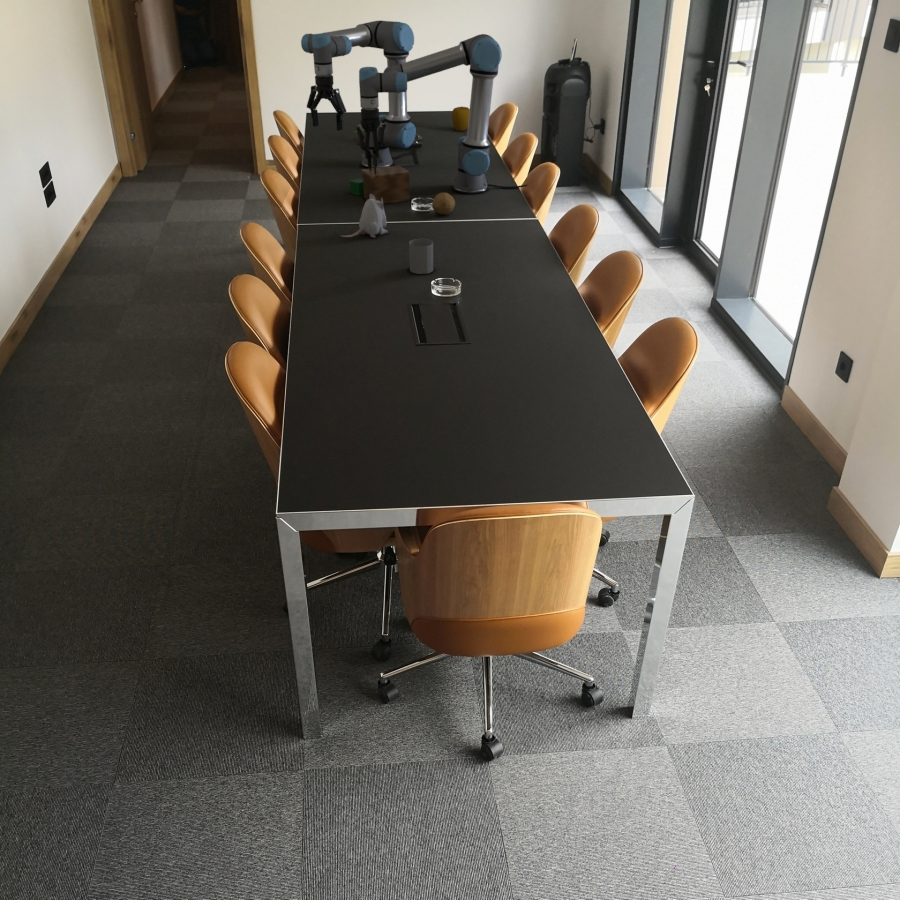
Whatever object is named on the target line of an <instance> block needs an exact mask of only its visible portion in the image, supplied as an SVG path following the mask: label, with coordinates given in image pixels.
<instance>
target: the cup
mask: <svg viewBox="0 0 900 900" xmlns="http://www.w3.org/2000/svg"><path fill="white" fill-rule="evenodd" d="M408 253H409V272H411V273H412V274H416V275H426V274H430V273H432V272H434V241H433V240H431V239H428V238H422V237H421V238H420V237H419V238H414V239H411V240H410V241H409V242H408Z"/></svg>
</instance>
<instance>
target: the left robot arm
mask: <svg viewBox="0 0 900 900" xmlns="http://www.w3.org/2000/svg"><path fill="white" fill-rule="evenodd" d="M414 45H415V35H414V32H413V29H412V28H411V26H410V25H409V24H408V23H406V22H401V21H391V20H373V21H369V22H368V21H367V22H364V23H359V24H357V25H356V26H355V27H350V28H344V29H338V30H332V31H325V32H320V33H305V34H303V35H302V36H301V39H300V46H301V50H303V52H305V53H307V54H310V55H311V54H312V55H313V69H314V75H315V76H314V82H315V85H311V86H310V93H309V96H308V99H307V103H306V109H309V110H310V116H311V120H312V127H314V128H316V127H319V113H318V109H317V108H318V105H319V104H320V102H321V101H322V100H323V99H324V100H328V102H329V103H330V104H331V106H332V108H333V109H334V110H335V112H336V114H335V118H336V119H335V120H336V121H335V122H336V131H338V132H339V131H343V123H344V114H346V113H347V109H346V106H345V104H344V101H343V98H342V96H341V93H340V88H334V75H333V74H334V69H333V58H338V57H345V56H347V55H349V54H350V53H351V52H352V48H355V47H360V48H374V49H379V50H383V53H382V54H383V56H384V57H385V58H386V68H387V67H388V66H396V65H399V64H402V63H405V62H407V58H408V57H409V56H410V52H411V51H412V50H413V48H414ZM407 92H408V90H407V91H406V92H400V93H398V92H387V96H388V97H387V98H388V114H379V120H380V122H381V123H384V124H386V127H385V130H384V139H383V148H381V149H379V157H378V158H377V167H376V168H379V167H387V166H394V161H393V159H394V160H395V159H398V158H399V157H403V156H407V155H412V151H408V152H403V153H399V154H397V155H395V156H392V155H391V152H390V151H391V150H390V147H394V148H398V149H407V148H409V147H411V146H412V145H413V142H414V141H415V139H416V136H417V129H416V128H417V127H416V126H415V124H414V123H413V122H411V116H410V115H409V114H408V95H407V94H408V93H407ZM379 126H380V125H379ZM379 130H380V127H378V128H377V138H378V141H379ZM363 133H364V139H363V141H364V142H365V130H364V131H363ZM373 149H374V142H373V135H372V131H371V132H370V139H369V151H371V152H372V153H373ZM374 150H375V149H374ZM361 157H362V159H361V166H362V167H363V168H365V169H369V166H368V160H367V159H366V158H365V151H364V150H363V153H361ZM371 165H372V167H371V168H374V165H373V158H371Z"/></svg>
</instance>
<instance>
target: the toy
mask: <svg viewBox="0 0 900 900" xmlns="http://www.w3.org/2000/svg"><path fill="white" fill-rule="evenodd" d="M369 198H370V199H368V200H367V199H366V201H365V203H364V205H363V208H362V211H361V215H360V218H359V222H358V226H359V229H358V230H357V231H356V232H354V233H352V234H348V235H341V237H342V238H353V237H356V236H358V235H359V234H360V235H366V234H367V235H369V236H370V238H373V239H375V238H377V236H376V235H378V234H379V235H380V236H381V235H384V234H388V233H389V231H388V230H387V229H385V228H386V227H387V216H386V213H385V208H384V204H383V199H382V198H381V202H380V201H378V200H376V199H375V197H374V196H373V195H372V194H370V197H369Z"/></svg>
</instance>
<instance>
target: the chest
mask: <svg viewBox="0 0 900 900" xmlns="http://www.w3.org/2000/svg"><path fill="white" fill-rule="evenodd" d="M362 179H363V185H364V194H363V198H364V199H365V200H366V201H367V200H368V199H370V198H369V197H370V194H372V195H373V196H374V197H375V199H376V200H378V201H380V202H381V198H382V199H383V205H384V204H385V205H386V204H392V203H400V202H409V201H410V200H411V197H410V196H411V195H410V173H409V174H408V175H400V176H392V177H383V178H375V179H370V178H369V177H368V176H366V175H365V174H364V173H362Z"/></svg>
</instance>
